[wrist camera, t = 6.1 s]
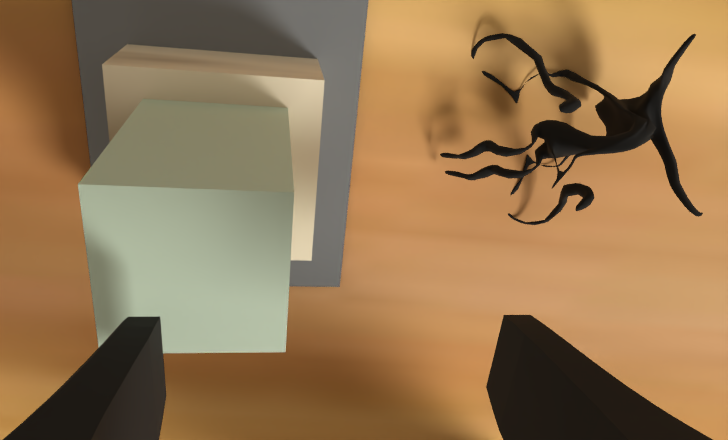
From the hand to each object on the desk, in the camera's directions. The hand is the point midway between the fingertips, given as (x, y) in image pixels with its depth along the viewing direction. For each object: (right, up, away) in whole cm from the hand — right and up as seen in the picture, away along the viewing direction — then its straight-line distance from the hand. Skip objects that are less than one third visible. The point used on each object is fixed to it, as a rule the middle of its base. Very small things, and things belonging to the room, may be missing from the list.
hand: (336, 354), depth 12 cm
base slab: (-4, +6, +8) cm, 11 cm away
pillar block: (-4, +4, +5) cm, 8 cm away
